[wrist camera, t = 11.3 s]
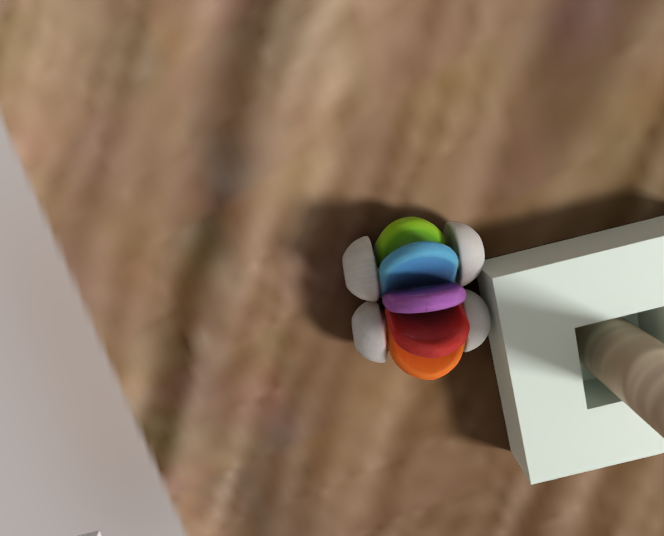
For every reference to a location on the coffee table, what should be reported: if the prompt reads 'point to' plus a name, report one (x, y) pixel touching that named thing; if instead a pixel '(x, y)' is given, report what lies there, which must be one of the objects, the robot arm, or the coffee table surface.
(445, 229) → the rainbow wheeled toy
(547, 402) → the socket block
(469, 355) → the coffee table surface
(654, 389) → the peg
